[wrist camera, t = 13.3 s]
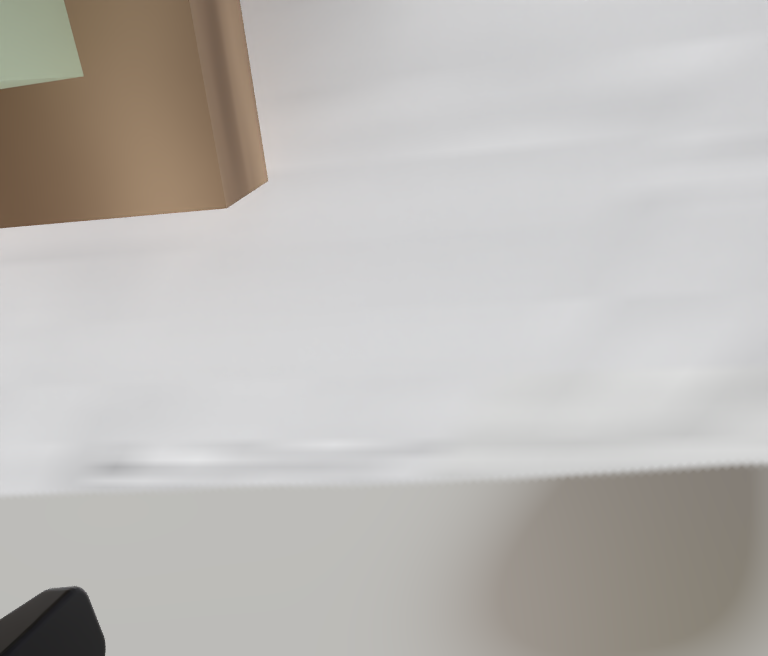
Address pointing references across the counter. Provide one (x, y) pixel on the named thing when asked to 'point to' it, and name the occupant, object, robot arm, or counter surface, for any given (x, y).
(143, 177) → the walnut block
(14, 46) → the sage cube
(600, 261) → the counter surface
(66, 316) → the counter surface
